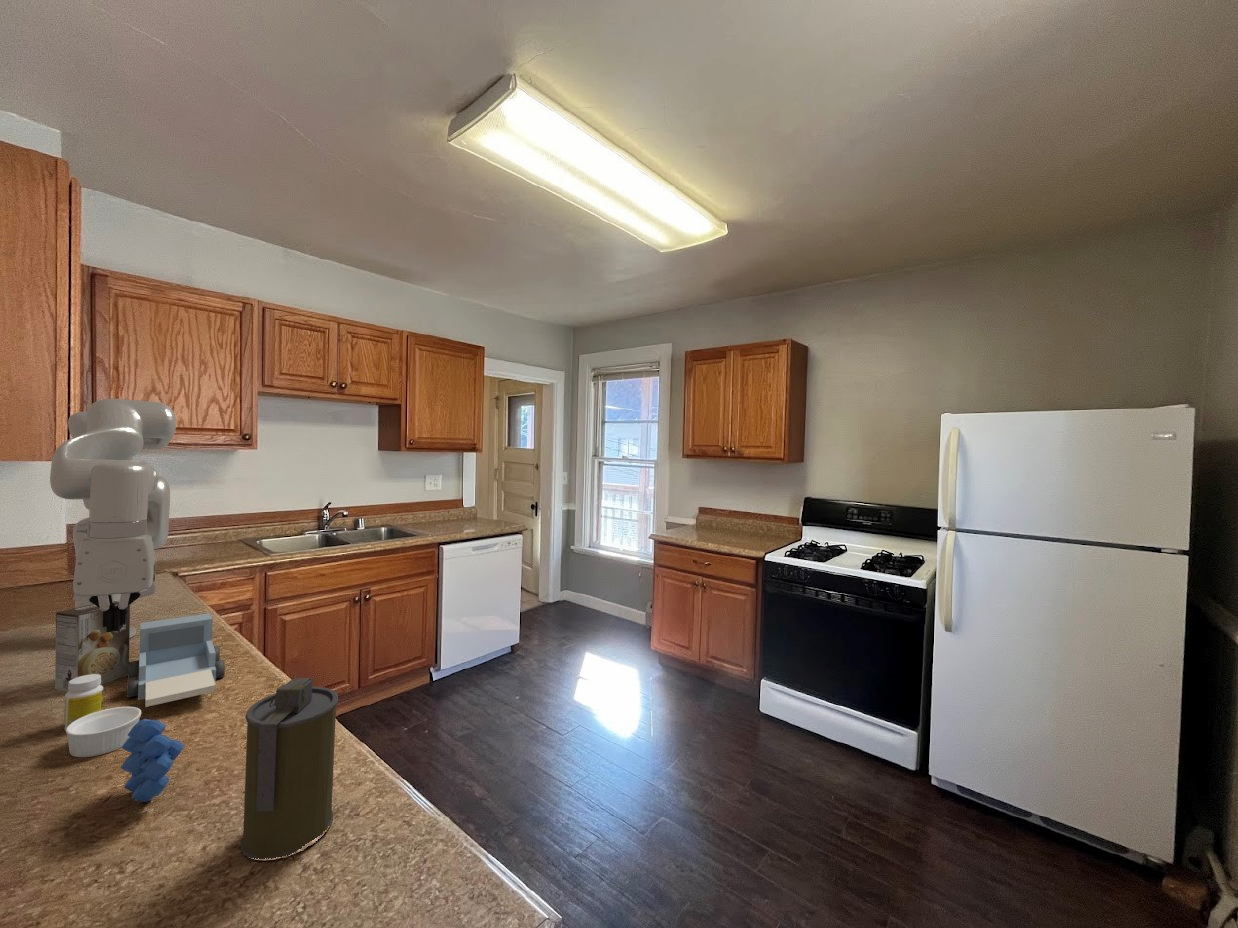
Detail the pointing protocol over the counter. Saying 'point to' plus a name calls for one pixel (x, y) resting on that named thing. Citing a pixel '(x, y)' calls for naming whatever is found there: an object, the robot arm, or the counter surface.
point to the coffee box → (89, 646)
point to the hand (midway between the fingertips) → (115, 629)
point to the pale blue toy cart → (174, 651)
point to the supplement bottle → (83, 697)
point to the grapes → (149, 759)
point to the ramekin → (101, 731)
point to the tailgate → (179, 687)
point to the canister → (289, 769)
